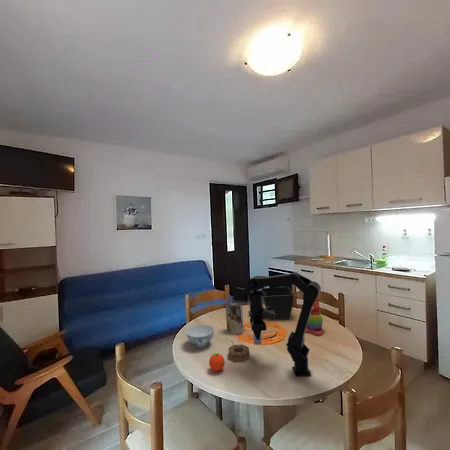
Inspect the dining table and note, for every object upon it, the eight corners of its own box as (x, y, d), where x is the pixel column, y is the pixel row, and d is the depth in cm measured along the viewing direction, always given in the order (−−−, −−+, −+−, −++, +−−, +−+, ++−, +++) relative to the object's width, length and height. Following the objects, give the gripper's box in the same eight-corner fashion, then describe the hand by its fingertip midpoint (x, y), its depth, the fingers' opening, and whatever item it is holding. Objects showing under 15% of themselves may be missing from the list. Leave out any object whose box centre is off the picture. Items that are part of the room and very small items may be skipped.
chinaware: (194, 354, 128) (193, 339, 128) (182, 343, 141) (181, 329, 140) (220, 345, 136) (219, 331, 136) (206, 335, 149) (205, 322, 149)
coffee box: (244, 329, 154) (242, 303, 154) (242, 334, 148) (240, 306, 148) (229, 328, 156) (227, 302, 156) (226, 333, 150) (225, 306, 150)
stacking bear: (301, 332, 147) (300, 301, 147) (308, 325, 155) (307, 296, 154) (320, 337, 140) (318, 304, 140) (326, 330, 148) (325, 299, 147)
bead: (250, 361, 120) (249, 354, 120) (228, 361, 120) (228, 355, 120) (248, 350, 130) (248, 344, 130) (228, 350, 130) (228, 345, 130)
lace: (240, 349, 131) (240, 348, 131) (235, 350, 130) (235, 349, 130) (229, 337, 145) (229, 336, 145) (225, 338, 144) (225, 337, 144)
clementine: (204, 369, 115) (203, 353, 115) (216, 362, 120) (215, 347, 120) (216, 376, 110) (216, 360, 109) (228, 369, 114) (227, 353, 114)
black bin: (265, 322, 164) (264, 295, 163) (262, 311, 182) (261, 287, 182) (295, 321, 163) (294, 294, 162) (289, 310, 182) (288, 286, 181)
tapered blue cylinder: (262, 344, 117) (261, 324, 117) (254, 344, 117) (253, 325, 117) (261, 340, 121) (260, 321, 120) (253, 340, 121) (252, 321, 120)
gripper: (277, 310, 109) (279, 347, 109) (270, 297, 128) (271, 328, 128) (251, 311, 109) (252, 348, 109) (247, 298, 128) (249, 329, 128)
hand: (257, 337), depth 119 cm, fingers closed on tapered blue cylinder, 4 cm apart
